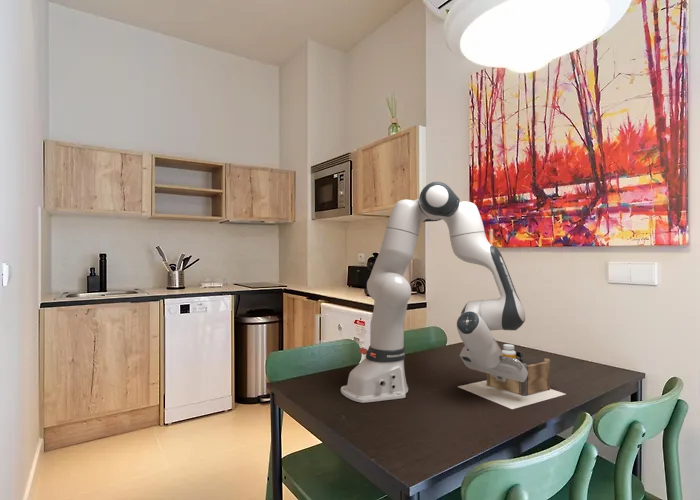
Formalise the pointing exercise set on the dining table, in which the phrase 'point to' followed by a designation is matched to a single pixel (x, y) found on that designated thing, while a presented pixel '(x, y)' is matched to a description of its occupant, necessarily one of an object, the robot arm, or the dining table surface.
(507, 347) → the supplement bottle
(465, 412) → the dining table surface
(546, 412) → the dining table surface
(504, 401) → the card
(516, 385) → the folding fence section
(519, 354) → the black blocky piece
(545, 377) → the fixed fence section
